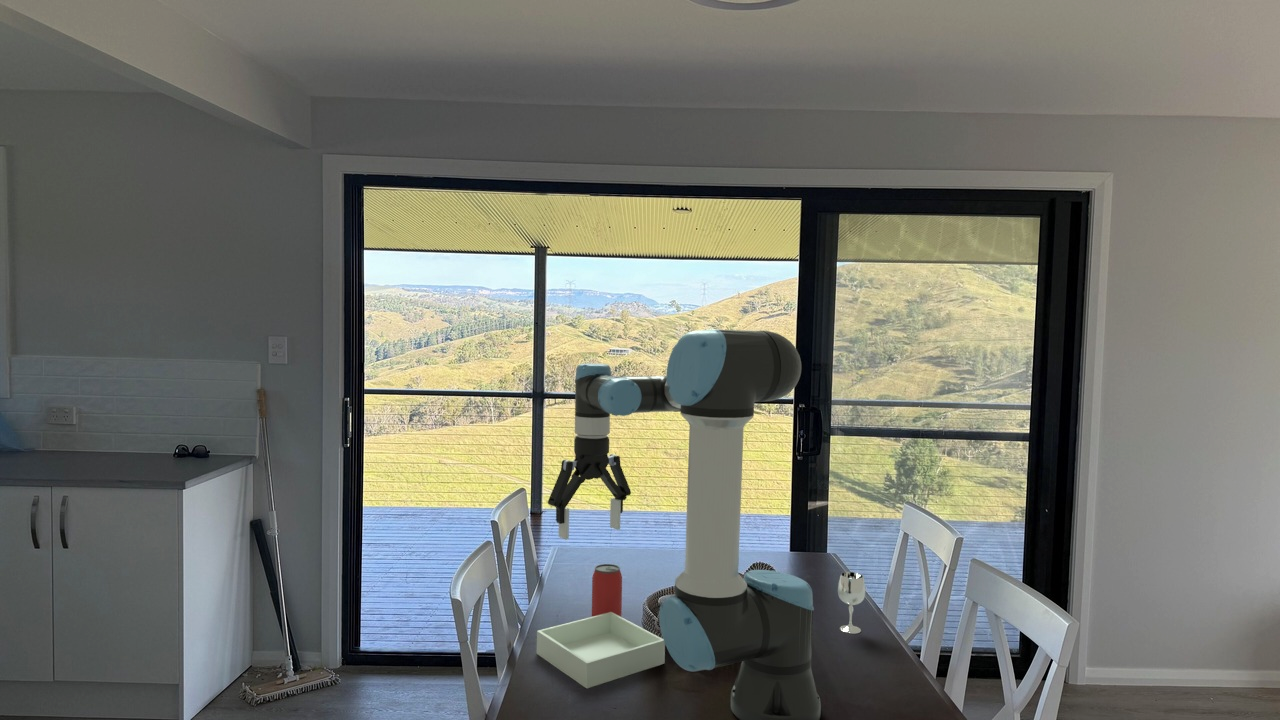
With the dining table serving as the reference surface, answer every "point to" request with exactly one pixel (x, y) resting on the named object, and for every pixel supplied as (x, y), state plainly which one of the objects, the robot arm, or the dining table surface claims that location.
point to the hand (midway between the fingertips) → (589, 533)
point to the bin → (600, 648)
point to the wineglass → (851, 595)
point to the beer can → (607, 590)
